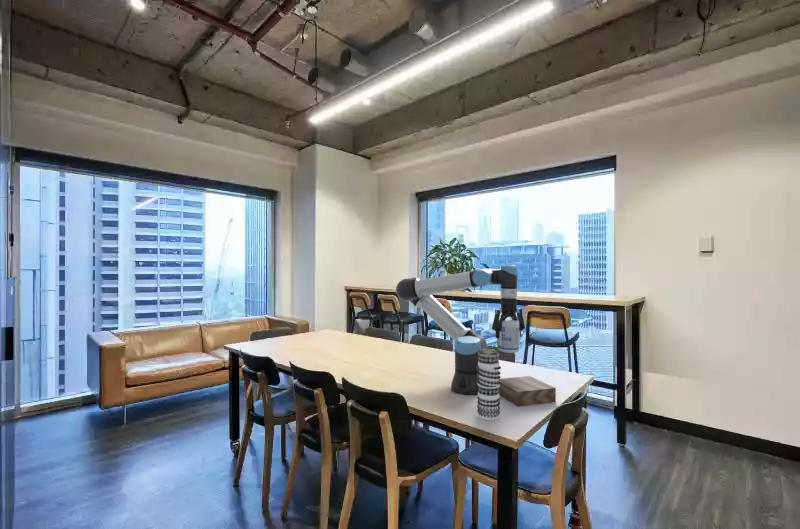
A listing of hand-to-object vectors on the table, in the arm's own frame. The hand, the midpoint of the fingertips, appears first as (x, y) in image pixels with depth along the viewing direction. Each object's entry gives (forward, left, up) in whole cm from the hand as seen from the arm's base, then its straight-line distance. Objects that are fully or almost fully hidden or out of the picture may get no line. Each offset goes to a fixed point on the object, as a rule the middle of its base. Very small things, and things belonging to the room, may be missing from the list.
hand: (508, 344), depth 182 cm
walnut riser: (-2, -16, -20) cm, 25 cm away
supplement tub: (0, 0, -3) cm, 3 cm away
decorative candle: (-27, -30, -20) cm, 45 cm away
